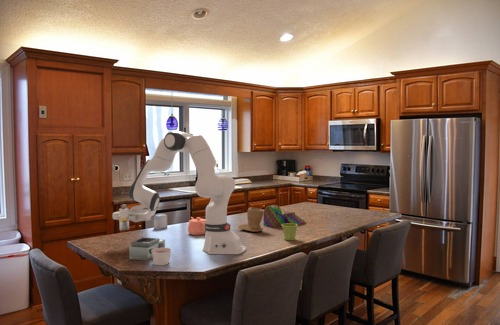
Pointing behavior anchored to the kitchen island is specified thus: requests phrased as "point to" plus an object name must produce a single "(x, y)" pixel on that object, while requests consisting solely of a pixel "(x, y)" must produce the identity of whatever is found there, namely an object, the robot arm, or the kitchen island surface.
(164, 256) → the candle
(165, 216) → the medicine box
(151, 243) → the green tray box
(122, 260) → the kitchen island surface
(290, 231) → the plant pot
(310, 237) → the kitchen island surface
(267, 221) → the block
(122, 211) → the frosted glass bottle
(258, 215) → the brown hat
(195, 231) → the teapot
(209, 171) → the robot arm
